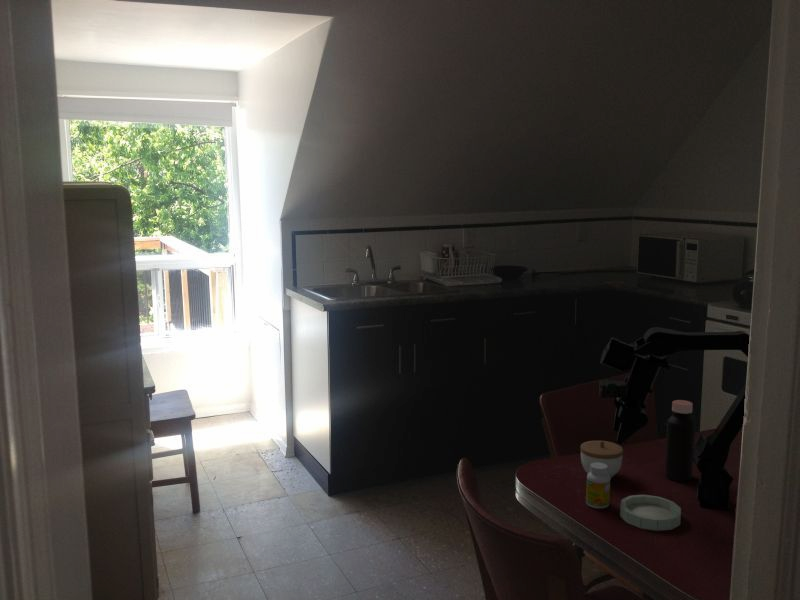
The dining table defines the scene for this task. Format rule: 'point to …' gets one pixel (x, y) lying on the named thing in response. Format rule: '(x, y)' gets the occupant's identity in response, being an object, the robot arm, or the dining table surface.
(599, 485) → the supplement bottle
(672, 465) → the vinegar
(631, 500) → the bowl
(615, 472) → the lidded jar
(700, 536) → the dining table surface
